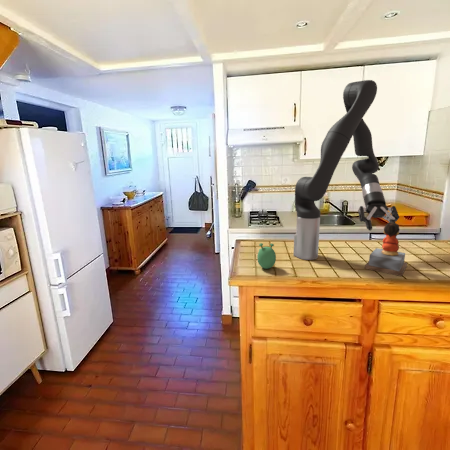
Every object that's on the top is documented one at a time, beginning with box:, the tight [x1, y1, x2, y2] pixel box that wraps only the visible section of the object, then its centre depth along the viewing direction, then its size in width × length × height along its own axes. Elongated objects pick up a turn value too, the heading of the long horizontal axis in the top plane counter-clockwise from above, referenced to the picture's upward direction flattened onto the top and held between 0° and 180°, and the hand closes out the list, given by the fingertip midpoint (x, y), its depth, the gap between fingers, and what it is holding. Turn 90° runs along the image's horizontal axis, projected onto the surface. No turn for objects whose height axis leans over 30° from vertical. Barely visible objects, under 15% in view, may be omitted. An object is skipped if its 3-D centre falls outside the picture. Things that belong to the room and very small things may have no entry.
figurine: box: [381, 221, 400, 256], centre depth 106 cm, size 6×6×12 cm
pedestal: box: [364, 247, 408, 277], centre depth 108 cm, size 12×12×5 cm
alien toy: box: [256, 242, 277, 270], centre depth 109 cm, size 7×8×10 cm
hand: (382, 229), depth 112 cm, fingers open, 8 cm apart
